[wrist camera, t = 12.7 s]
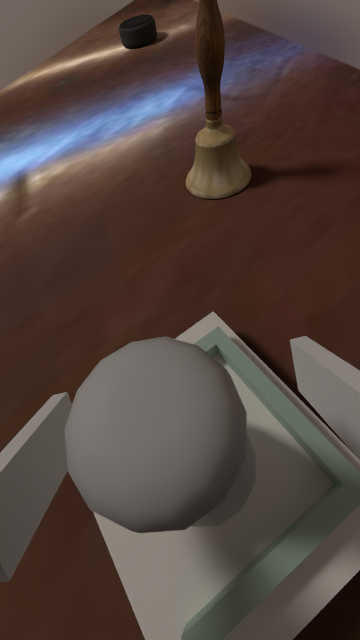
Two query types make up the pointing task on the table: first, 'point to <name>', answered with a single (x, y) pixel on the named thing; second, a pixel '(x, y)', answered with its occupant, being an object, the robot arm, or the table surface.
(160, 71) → the table surface
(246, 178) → the hand bell
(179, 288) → the table surface
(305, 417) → the dock
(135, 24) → the smart speaker
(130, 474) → the salt shaker
